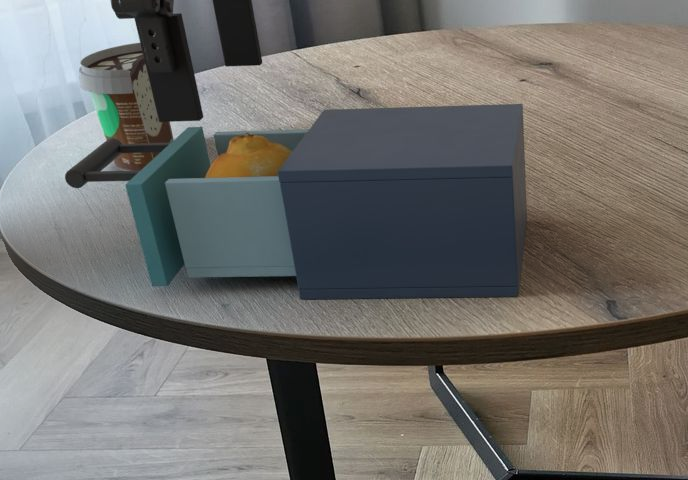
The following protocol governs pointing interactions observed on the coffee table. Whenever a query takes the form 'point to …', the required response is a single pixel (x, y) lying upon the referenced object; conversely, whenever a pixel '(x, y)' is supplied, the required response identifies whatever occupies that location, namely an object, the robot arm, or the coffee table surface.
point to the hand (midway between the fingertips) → (215, 90)
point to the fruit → (249, 158)
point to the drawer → (199, 208)
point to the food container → (124, 101)
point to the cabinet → (408, 203)
